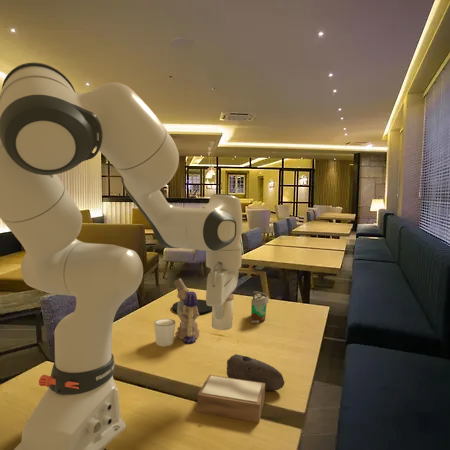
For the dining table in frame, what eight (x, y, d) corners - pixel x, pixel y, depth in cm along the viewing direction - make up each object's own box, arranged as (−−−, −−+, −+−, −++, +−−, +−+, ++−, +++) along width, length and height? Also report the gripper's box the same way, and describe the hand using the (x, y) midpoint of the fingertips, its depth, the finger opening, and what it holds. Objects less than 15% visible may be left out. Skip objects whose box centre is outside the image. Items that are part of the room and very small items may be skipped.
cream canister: (230, 331, 85) (231, 299, 85) (208, 328, 86) (209, 297, 86) (234, 323, 90) (235, 293, 90) (214, 321, 92) (215, 291, 91)
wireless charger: (197, 301, 160) (197, 296, 160) (223, 311, 147) (223, 306, 147) (164, 309, 148) (164, 304, 148) (189, 321, 135) (189, 315, 135)
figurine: (170, 334, 120) (170, 277, 118) (190, 329, 125) (191, 274, 124) (184, 343, 113) (184, 283, 112) (205, 337, 119) (206, 279, 117)
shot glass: (171, 348, 110) (171, 326, 110) (150, 346, 112) (150, 324, 111) (178, 339, 117) (178, 319, 116) (158, 337, 118) (158, 317, 118)
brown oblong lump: (286, 388, 89) (287, 362, 88) (280, 399, 84) (281, 371, 83) (233, 374, 95) (233, 350, 95) (224, 383, 91) (225, 358, 90)
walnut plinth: (259, 422, 75) (259, 404, 75) (197, 411, 79) (197, 393, 78) (264, 399, 84) (265, 382, 84) (209, 390, 87) (209, 373, 87)
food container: (267, 327, 129) (268, 300, 128) (250, 326, 130) (251, 299, 129) (268, 316, 141) (269, 291, 140) (253, 314, 142) (254, 290, 141)
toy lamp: (196, 338, 118) (197, 290, 117) (197, 344, 114) (198, 294, 112) (182, 339, 118) (183, 290, 116) (183, 345, 113) (183, 294, 112)
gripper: (227, 268, 76) (225, 329, 77) (243, 254, 96) (241, 303, 97) (199, 266, 78) (198, 327, 79) (220, 253, 98) (219, 301, 99)
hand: (222, 313), depth 88 cm, fingers closed on cream canister, 5 cm apart
